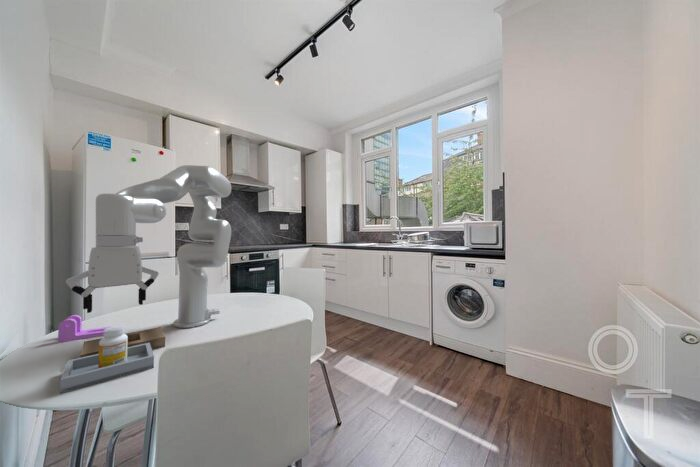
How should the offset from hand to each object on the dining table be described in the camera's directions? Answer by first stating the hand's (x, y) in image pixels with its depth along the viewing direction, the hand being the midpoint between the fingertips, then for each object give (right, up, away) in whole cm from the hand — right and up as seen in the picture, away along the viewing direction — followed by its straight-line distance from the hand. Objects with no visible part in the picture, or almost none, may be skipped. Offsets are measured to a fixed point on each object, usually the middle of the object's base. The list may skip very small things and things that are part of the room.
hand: (116, 307), depth 64 cm
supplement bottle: (0, -15, -1) cm, 15 cm away
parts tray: (0, -16, -1) cm, 16 cm away
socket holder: (-7, -16, +10) cm, 20 cm away
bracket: (-28, -16, +20) cm, 38 cm away
